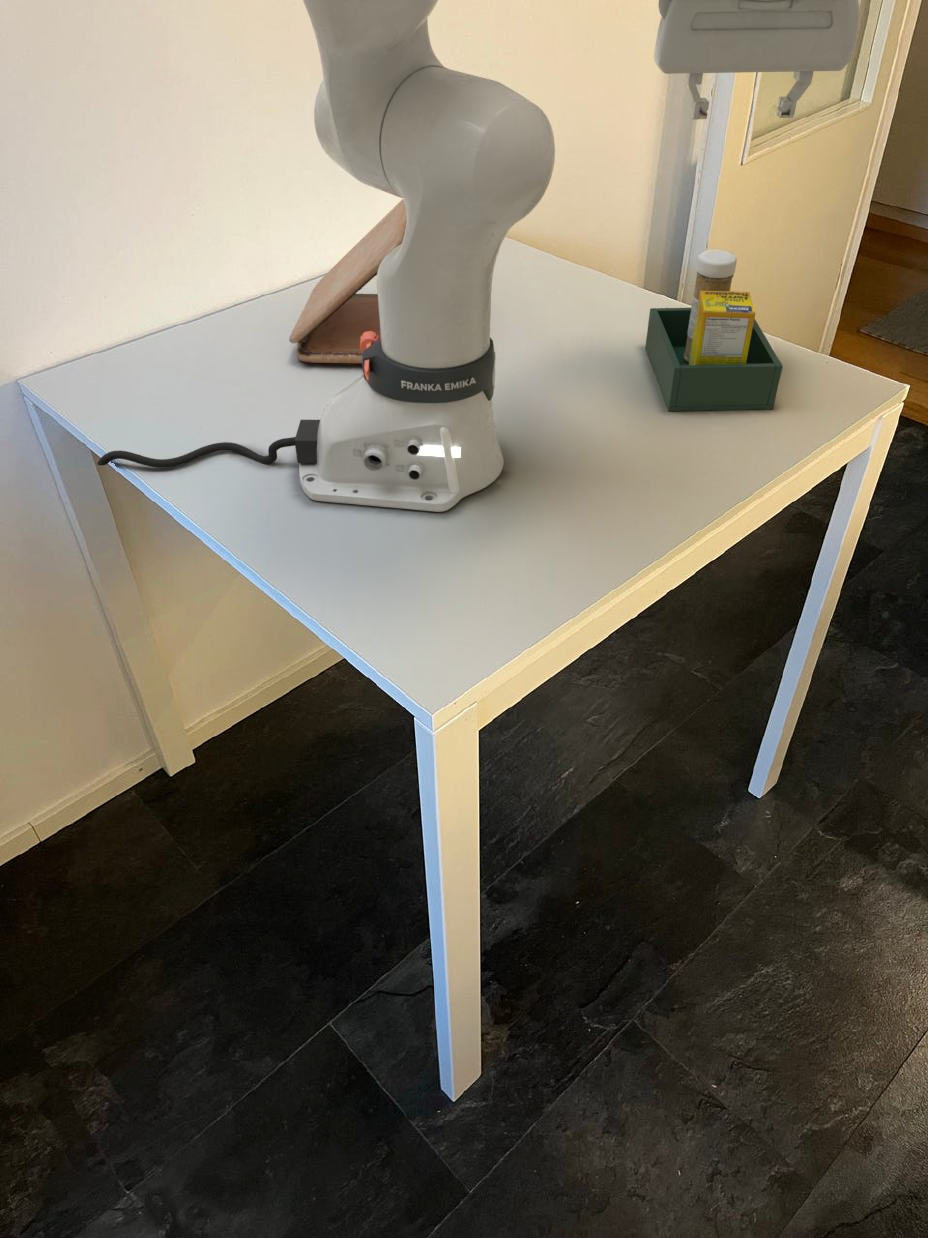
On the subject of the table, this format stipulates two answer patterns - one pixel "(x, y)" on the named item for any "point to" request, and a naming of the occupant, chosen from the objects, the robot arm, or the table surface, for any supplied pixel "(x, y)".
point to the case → (347, 298)
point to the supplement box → (722, 328)
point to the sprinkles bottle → (710, 282)
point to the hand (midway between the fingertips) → (741, 117)
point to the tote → (709, 369)
